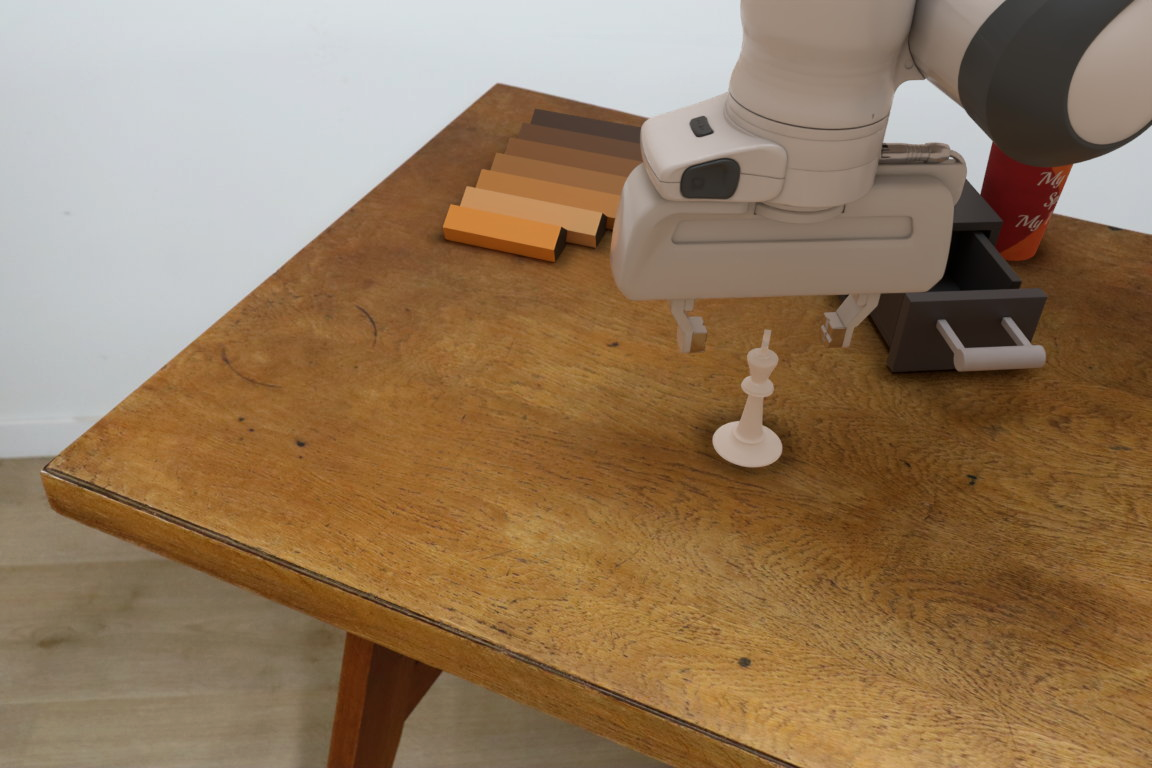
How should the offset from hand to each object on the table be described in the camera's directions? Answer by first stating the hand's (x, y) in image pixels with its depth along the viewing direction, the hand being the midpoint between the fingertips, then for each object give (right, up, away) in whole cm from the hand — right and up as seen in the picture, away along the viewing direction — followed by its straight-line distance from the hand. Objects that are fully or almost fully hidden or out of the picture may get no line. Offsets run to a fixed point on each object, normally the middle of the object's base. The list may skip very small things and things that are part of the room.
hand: (762, 345), depth 71 cm
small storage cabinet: (+15, +8, +26) cm, 31 cm away
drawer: (+16, +1, +15) cm, 22 cm away
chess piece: (0, -7, +6) cm, 9 cm away
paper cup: (+26, +9, +29) cm, 40 cm away
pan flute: (-8, +13, +32) cm, 35 cm away
